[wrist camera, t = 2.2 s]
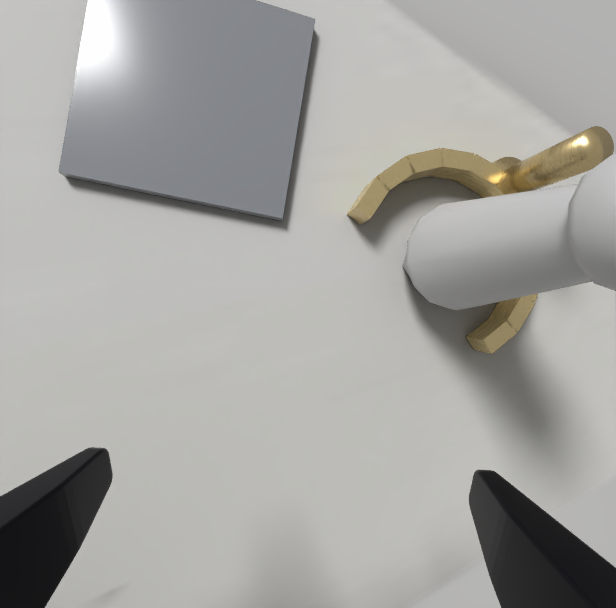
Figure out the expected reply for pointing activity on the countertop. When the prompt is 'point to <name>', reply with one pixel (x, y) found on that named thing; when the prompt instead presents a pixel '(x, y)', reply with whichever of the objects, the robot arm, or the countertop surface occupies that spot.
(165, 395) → the countertop surface
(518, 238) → the salt shaker
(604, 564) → the robot arm
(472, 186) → the gold curved piece
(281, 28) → the coaster
